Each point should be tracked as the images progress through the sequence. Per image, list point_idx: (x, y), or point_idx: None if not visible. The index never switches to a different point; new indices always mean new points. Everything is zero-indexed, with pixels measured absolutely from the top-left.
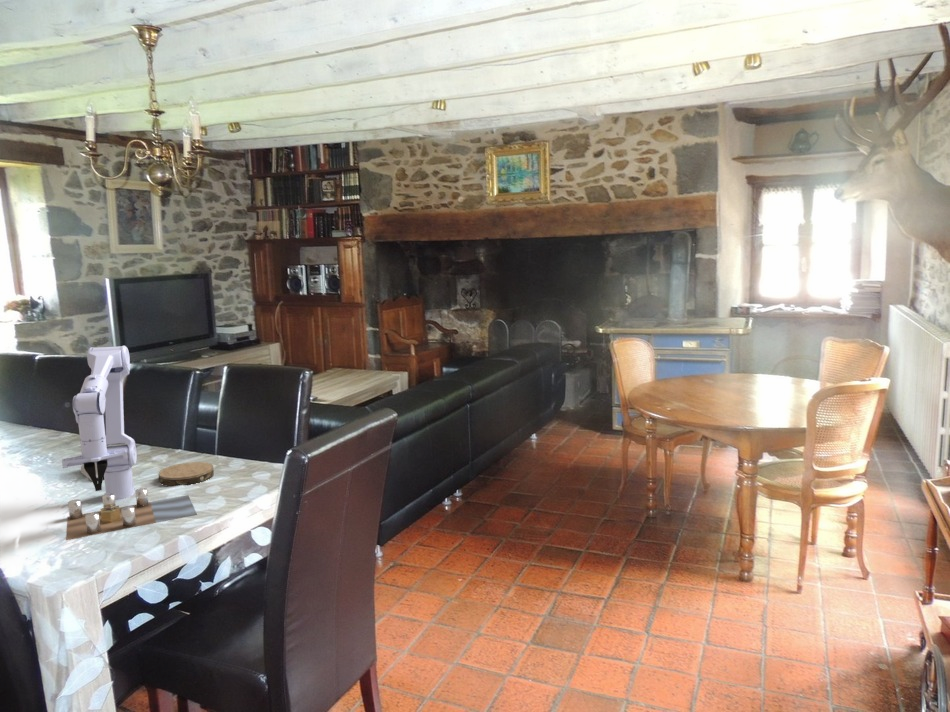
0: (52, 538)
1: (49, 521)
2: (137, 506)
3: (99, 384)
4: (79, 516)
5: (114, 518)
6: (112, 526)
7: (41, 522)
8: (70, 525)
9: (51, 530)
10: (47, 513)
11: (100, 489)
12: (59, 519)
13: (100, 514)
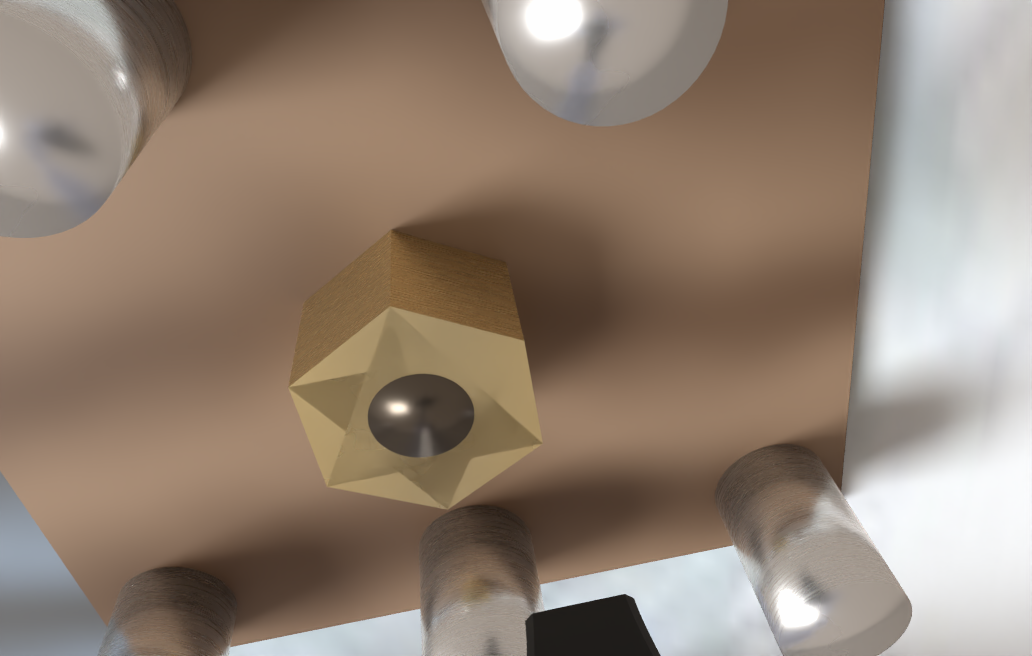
0: (1003, 47)
1: (961, 506)
2: (218, 586)
3: None
4: (747, 472)
5: (355, 274)
6: (343, 81)
7: (1018, 502)
8: (825, 300)
9: (977, 296)
10: (952, 648)
11: (546, 624)
12: (887, 525)
13: (556, 497)
